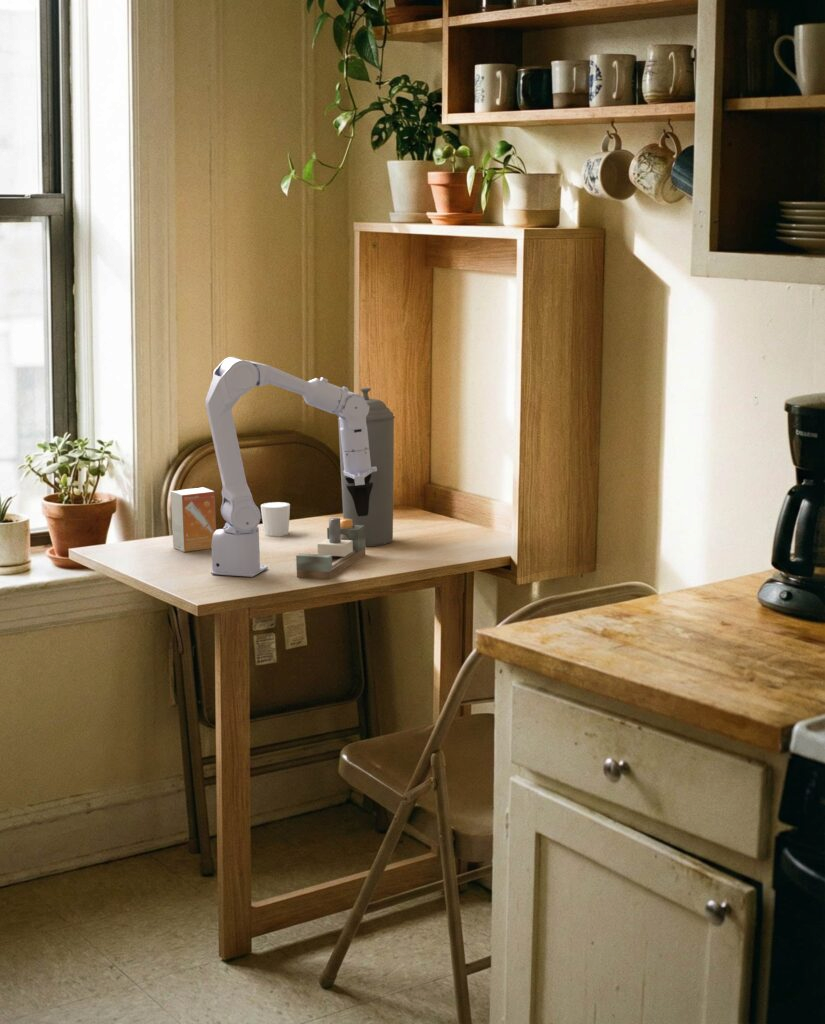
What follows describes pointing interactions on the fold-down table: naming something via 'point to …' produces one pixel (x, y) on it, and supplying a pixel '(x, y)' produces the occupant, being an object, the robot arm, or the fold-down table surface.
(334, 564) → the rail base
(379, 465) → the canister
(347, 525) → the button
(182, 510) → the small box
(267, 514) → the white tapered cylinder
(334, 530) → the carriage
